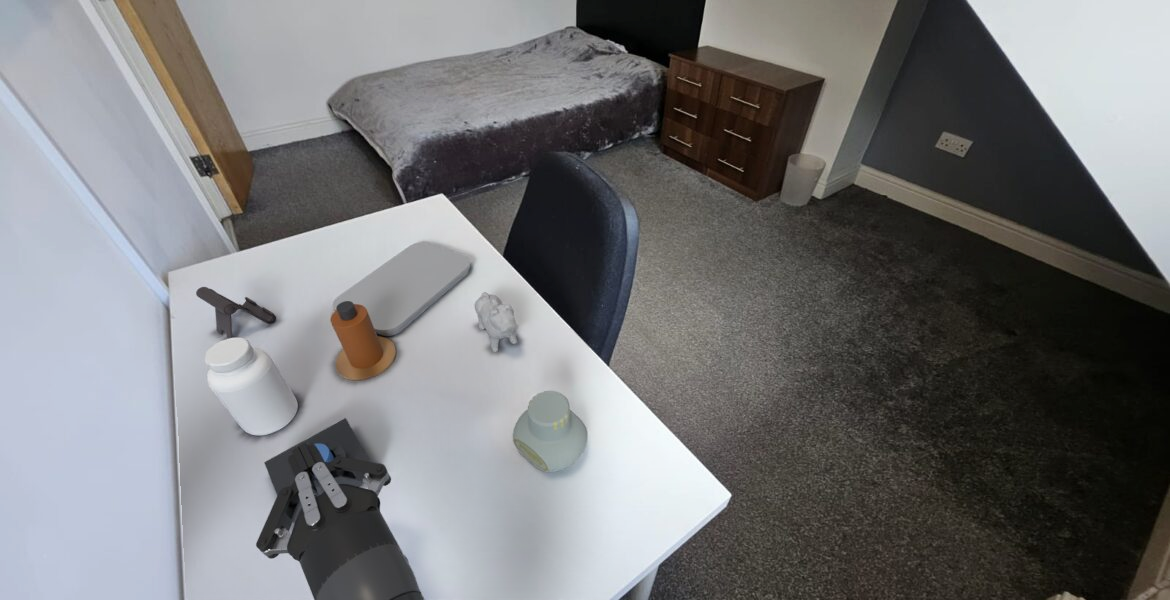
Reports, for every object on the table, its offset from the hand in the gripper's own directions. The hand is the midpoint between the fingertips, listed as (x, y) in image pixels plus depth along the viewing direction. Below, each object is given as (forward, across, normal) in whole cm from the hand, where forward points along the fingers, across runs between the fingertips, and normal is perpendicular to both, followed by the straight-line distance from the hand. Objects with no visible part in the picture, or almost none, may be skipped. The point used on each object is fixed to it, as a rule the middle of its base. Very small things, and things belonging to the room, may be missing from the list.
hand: (300, 449), depth 52 cm
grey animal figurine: (+14, -34, +16) cm, 40 cm away
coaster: (+25, -13, +16) cm, 33 cm away
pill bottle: (+23, +3, +16) cm, 28 cm away
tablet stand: (+48, +1, +16) cm, 51 cm away
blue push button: (+5, 0, +10) cm, 12 cm away
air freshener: (-10, -27, +16) cm, 33 cm away
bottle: (+25, -13, +16) cm, 32 cm away
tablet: (+38, -27, +16) cm, 49 cm away
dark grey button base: (+7, 0, +16) cm, 18 cm away
